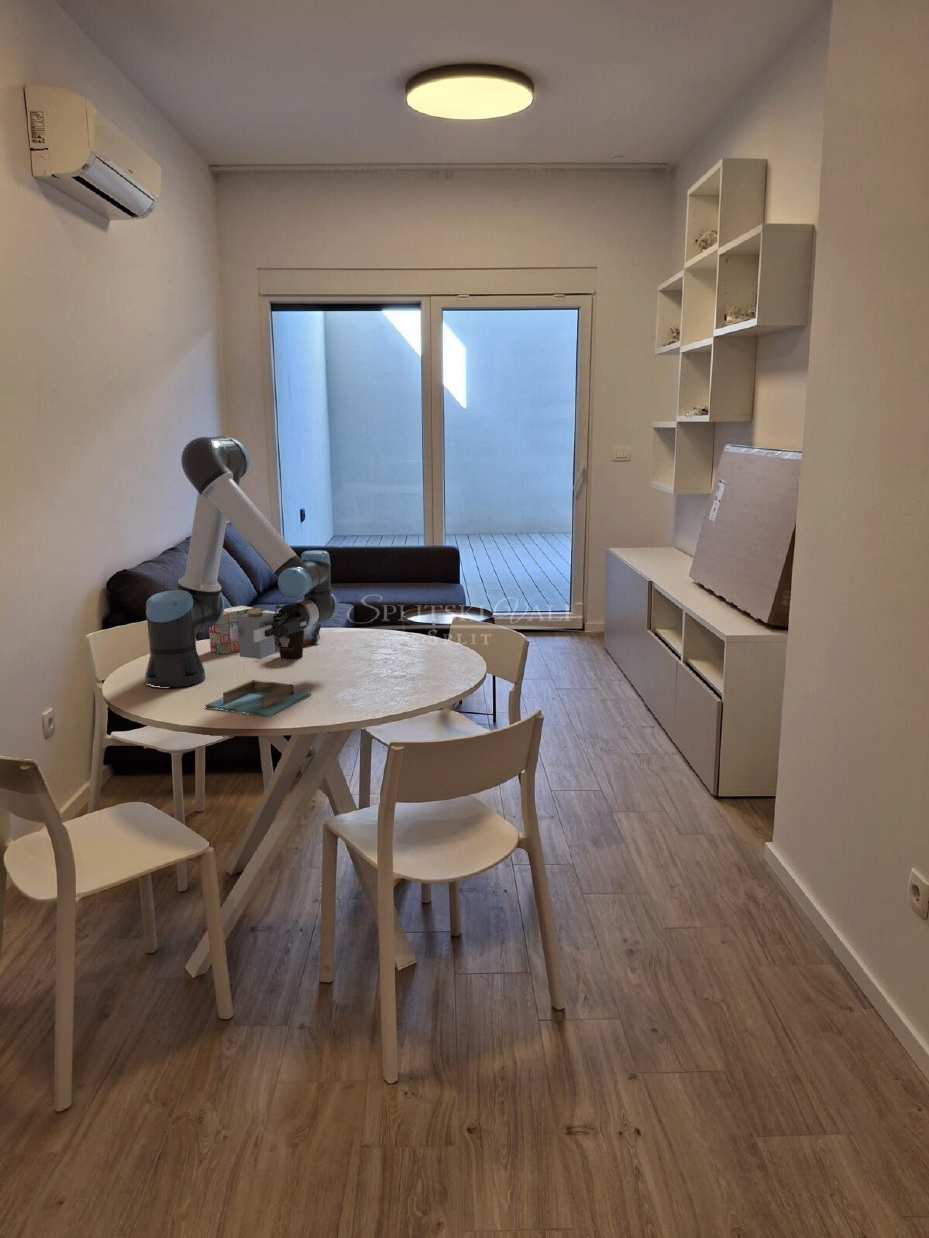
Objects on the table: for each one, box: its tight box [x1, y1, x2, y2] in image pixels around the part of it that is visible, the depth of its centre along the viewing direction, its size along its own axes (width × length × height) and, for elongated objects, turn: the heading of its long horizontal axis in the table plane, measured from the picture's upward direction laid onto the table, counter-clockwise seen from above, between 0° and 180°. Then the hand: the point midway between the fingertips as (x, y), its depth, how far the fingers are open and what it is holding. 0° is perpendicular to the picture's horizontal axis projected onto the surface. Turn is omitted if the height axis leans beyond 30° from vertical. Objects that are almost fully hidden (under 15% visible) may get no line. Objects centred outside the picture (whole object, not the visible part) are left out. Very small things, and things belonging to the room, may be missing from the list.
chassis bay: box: [205, 679, 312, 718], centre depth 214 cm, size 18×18×3 cm
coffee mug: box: [275, 630, 304, 661], centre depth 256 cm, size 12×9×10 cm
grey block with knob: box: [237, 607, 276, 660], centre depth 211 cm, size 6×6×11 cm
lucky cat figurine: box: [274, 604, 322, 647], centre depth 272 cm, size 15×12×14 cm
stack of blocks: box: [208, 605, 278, 655], centre depth 268 cm, size 21×6×12 cm, turn 138°
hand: (243, 635), depth 206 cm, fingers closed on grey block with knob, 6 cm apart
